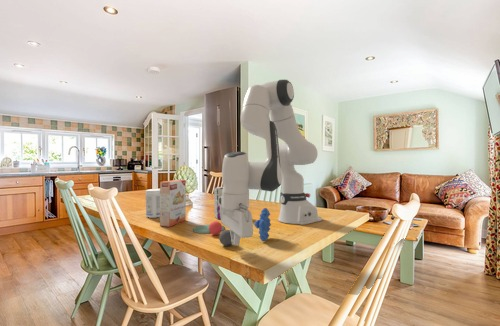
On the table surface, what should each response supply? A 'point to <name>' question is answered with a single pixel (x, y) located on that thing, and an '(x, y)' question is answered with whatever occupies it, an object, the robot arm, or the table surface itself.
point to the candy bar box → (217, 201)
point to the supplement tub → (153, 203)
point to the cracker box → (172, 202)
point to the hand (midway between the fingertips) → (235, 244)
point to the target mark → (204, 229)
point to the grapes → (263, 224)
